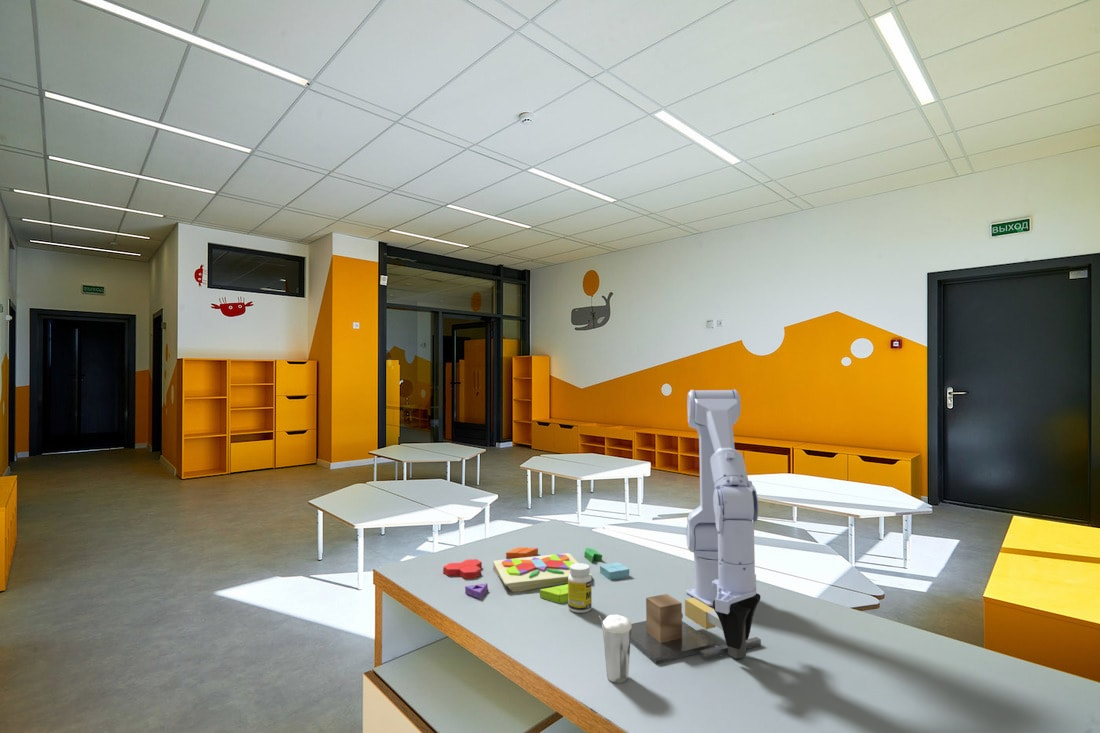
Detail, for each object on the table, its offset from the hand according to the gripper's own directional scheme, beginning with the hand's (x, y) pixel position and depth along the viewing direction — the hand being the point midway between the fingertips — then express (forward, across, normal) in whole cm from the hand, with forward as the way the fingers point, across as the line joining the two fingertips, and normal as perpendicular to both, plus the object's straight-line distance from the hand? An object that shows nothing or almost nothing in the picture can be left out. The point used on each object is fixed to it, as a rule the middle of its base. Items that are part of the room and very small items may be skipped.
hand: (737, 642), depth 89 cm
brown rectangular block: (+1, +2, -12) cm, 12 cm away
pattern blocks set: (+3, -10, -50) cm, 51 cm away
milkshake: (+3, +17, -13) cm, 22 cm away
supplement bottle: (+3, 0, -32) cm, 32 cm away
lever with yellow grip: (+2, -3, -5) cm, 6 cm away
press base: (+2, -1, -9) cm, 10 cm away
